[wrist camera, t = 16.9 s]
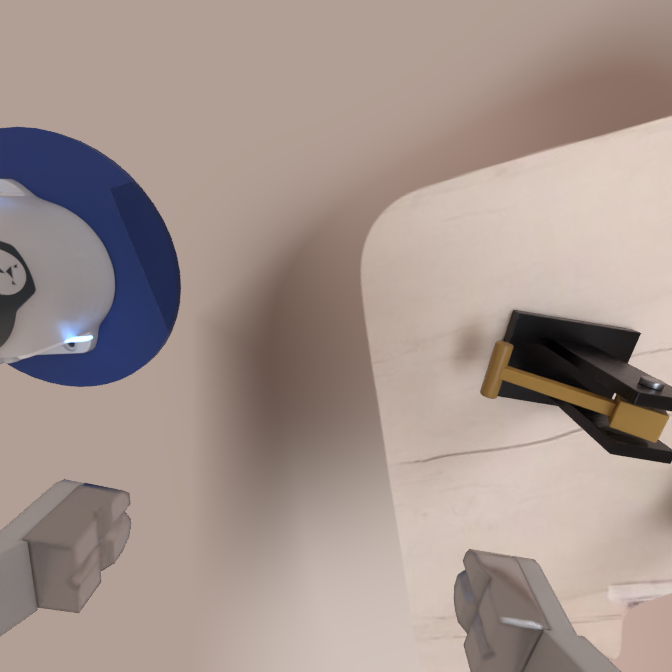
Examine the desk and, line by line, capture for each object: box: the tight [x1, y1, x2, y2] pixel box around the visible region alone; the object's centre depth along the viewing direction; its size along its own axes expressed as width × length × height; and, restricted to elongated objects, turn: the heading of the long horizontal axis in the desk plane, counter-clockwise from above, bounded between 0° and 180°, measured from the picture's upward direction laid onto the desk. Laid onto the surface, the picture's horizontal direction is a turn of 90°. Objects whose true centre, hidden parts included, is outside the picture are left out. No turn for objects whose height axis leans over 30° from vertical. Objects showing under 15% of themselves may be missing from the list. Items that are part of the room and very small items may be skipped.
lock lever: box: [480, 341, 669, 443], centre depth 29 cm, size 12×5×2 cm
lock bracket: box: [497, 310, 672, 464], centre depth 31 cm, size 12×9×13 cm
